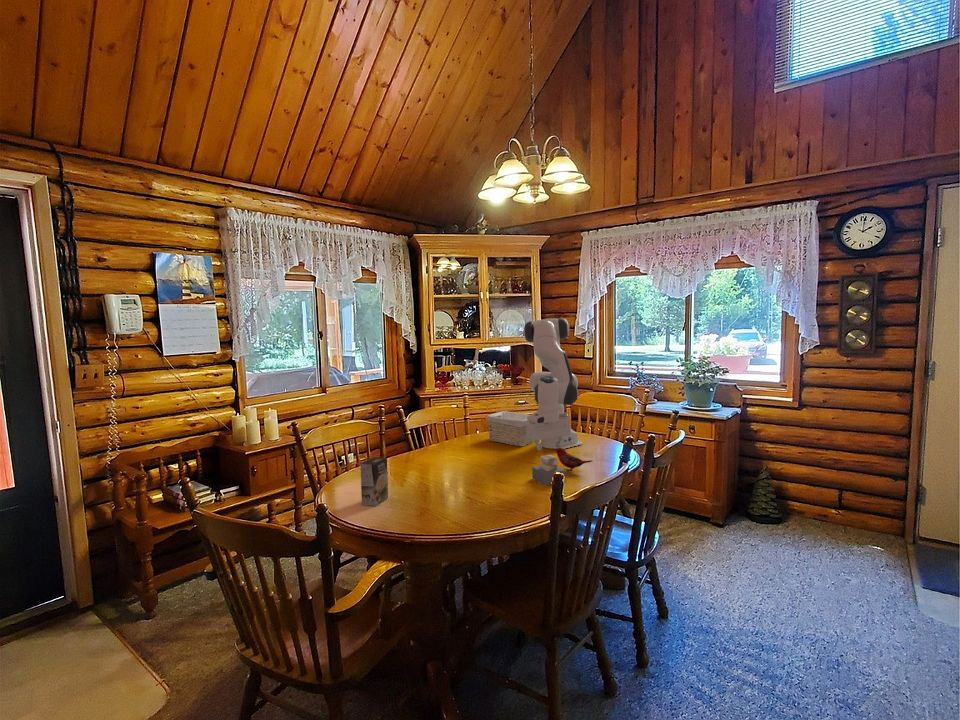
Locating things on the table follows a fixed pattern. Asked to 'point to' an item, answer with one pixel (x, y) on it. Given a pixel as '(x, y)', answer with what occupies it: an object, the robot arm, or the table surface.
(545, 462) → the cream cube
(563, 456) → the decorative bird figurine
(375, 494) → the coffee box
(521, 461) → the table surface
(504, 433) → the storage basket
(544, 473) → the grey block
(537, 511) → the table surface
